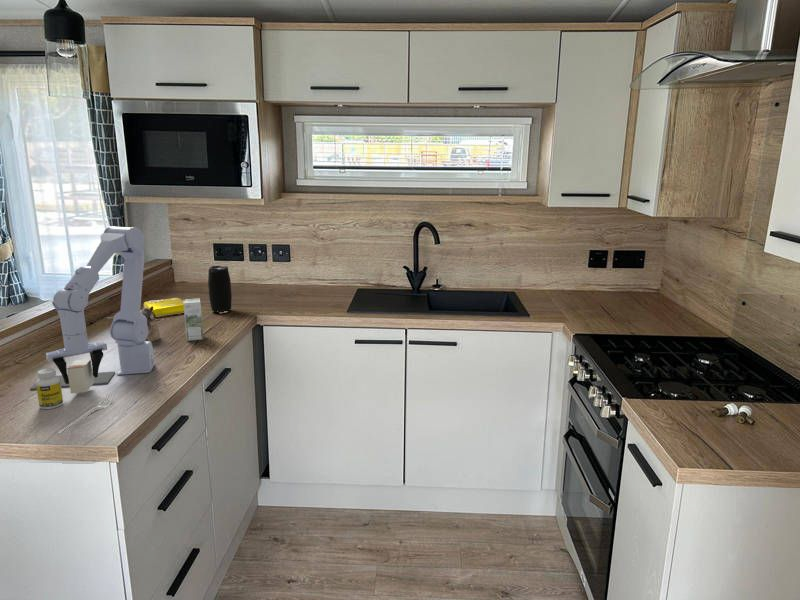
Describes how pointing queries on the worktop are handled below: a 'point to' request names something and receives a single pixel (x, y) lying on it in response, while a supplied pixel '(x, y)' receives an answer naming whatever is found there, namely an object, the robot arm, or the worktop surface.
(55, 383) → the supplement bottle
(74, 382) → the card box
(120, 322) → the robot arm
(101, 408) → the fork
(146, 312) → the figurine
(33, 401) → the worktop surface
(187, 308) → the syrup box
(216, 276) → the portable speaker
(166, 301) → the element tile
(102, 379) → the rubber mat
